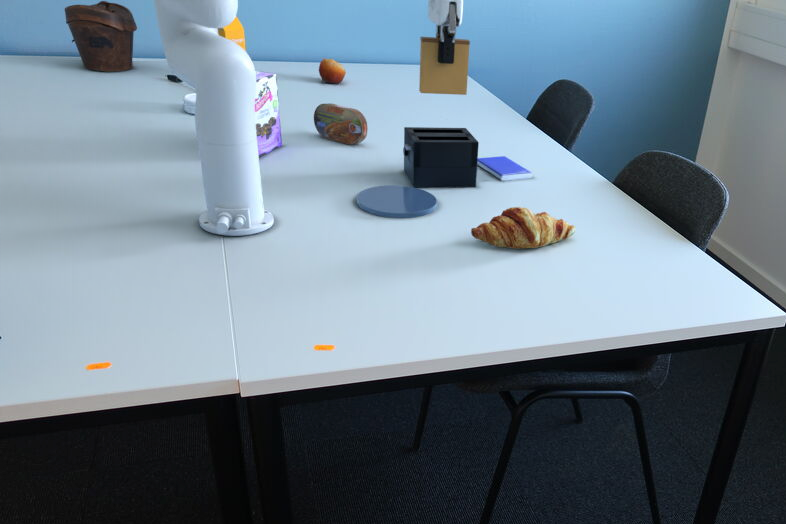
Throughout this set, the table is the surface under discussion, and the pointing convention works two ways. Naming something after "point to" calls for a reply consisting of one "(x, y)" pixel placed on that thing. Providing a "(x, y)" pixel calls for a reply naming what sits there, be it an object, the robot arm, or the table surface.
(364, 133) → the tin
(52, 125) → the table surface
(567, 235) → the croissant
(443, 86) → the toast
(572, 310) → the table surface
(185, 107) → the white round container
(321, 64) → the fruit
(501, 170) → the blue book
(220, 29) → the orange juice
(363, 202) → the plate
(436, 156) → the toaster
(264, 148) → the candy box
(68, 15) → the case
